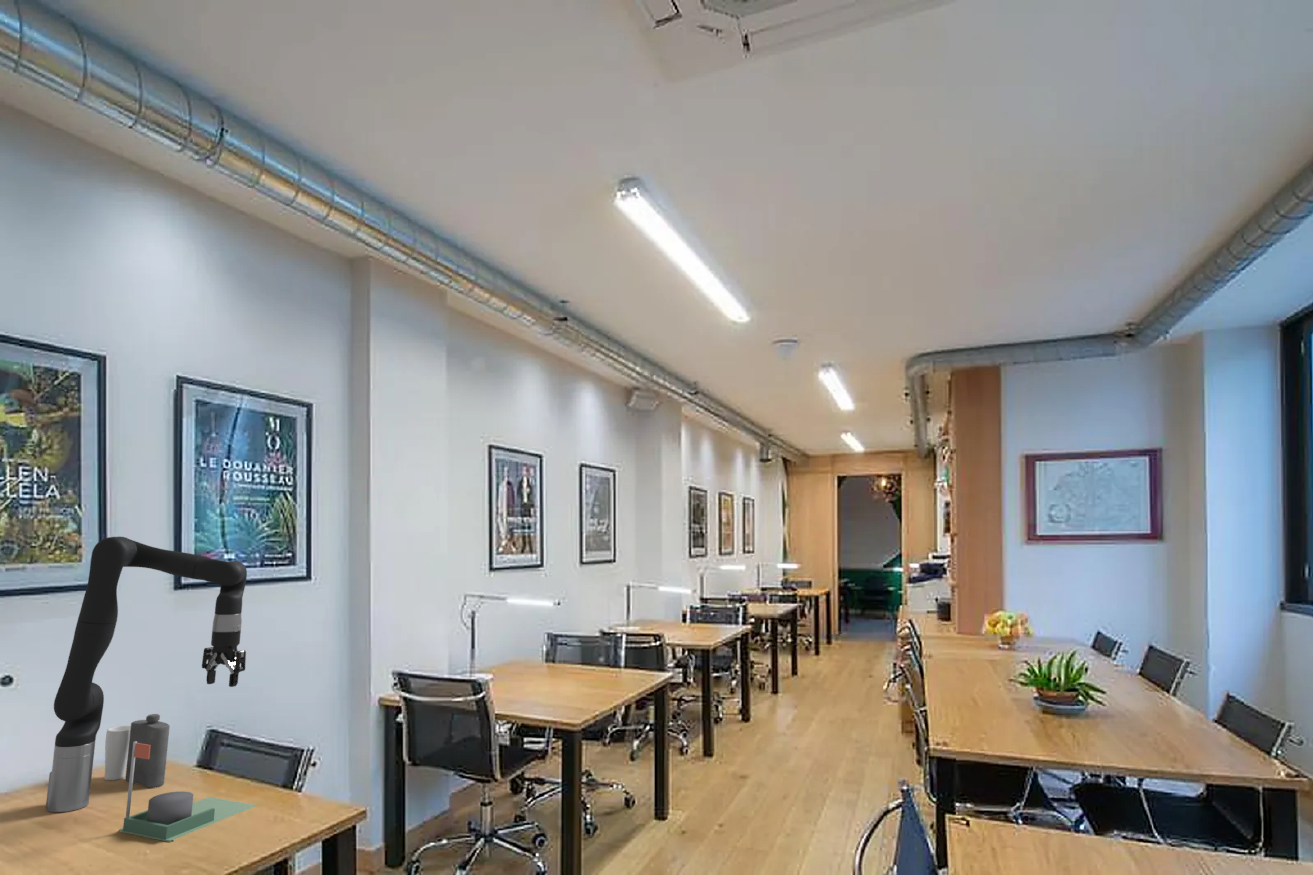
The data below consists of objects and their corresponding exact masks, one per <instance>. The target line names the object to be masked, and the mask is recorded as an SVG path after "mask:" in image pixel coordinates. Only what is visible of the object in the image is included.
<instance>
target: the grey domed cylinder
mask: <svg viewBox="0 0 1313 875" xmlns="http://www.w3.org/2000/svg"><path fill="white" fill-rule="evenodd" d="M193 801H194V793H192V792H190V791H169V792H164V793H159V794H158V795H155V796H152V797H151V798H149V800H148V806H147V810H148V815H147V821H150V822H155V823H160V824H165V825H169V824H172V823H174V822H177V821H180V820H182V819H185V818H188V817H190V816H191V815H192V804H193V803H194V802H193Z"/></svg>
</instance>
